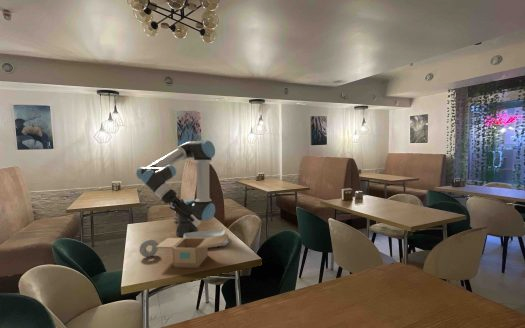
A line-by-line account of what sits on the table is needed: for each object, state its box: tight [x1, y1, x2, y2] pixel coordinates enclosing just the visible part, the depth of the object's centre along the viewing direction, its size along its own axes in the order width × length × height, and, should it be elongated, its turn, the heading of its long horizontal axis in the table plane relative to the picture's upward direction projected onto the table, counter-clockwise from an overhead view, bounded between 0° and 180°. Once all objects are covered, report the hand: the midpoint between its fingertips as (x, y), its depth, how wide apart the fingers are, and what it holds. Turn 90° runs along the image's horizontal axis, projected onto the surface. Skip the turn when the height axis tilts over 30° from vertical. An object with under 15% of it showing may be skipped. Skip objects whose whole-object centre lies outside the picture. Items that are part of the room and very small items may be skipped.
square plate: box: [182, 228, 229, 249], centre depth 170 cm, size 27×27×4 cm
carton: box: [156, 237, 209, 269], centre depth 142 cm, size 16×22×10 cm
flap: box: [199, 233, 229, 248], centre depth 140 cm, size 13×12×1 cm
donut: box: [139, 238, 159, 258], centre depth 150 cm, size 10×4×10 cm, turn 124°
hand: (198, 224), depth 140 cm, fingers closed
